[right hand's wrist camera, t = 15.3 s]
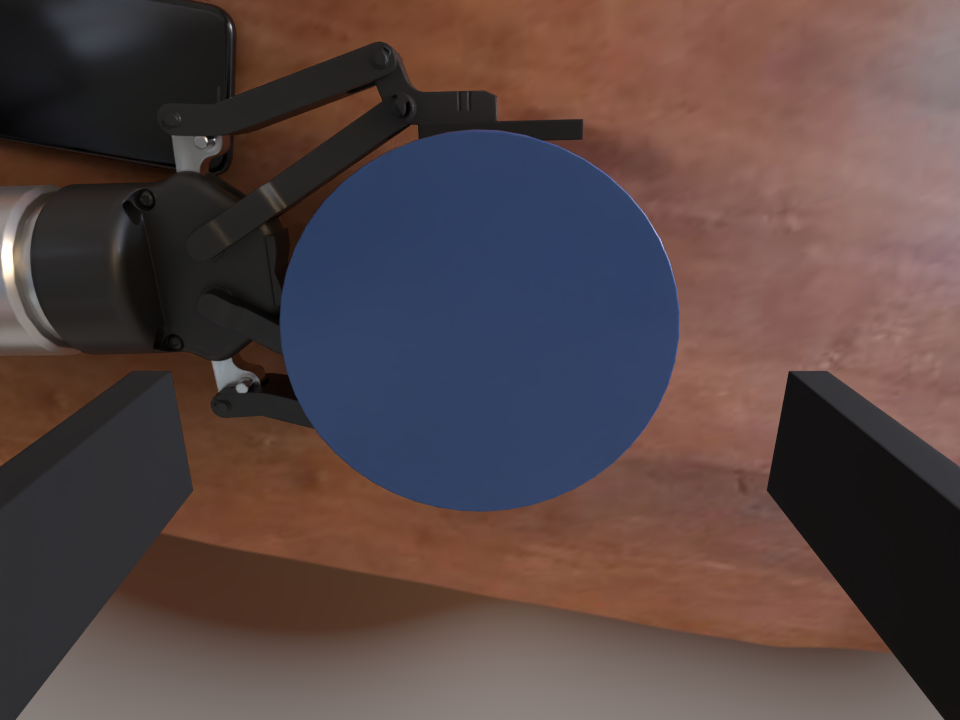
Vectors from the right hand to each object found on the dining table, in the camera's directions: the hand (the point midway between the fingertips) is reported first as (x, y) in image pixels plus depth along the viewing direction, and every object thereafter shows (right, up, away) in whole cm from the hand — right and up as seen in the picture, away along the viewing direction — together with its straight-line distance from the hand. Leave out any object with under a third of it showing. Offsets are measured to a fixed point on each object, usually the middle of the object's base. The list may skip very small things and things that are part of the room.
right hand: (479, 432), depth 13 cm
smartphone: (-20, +16, +18) cm, 31 cm away
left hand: (+4, +6, +15) cm, 17 cm away
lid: (0, +2, +6) cm, 6 cm away
